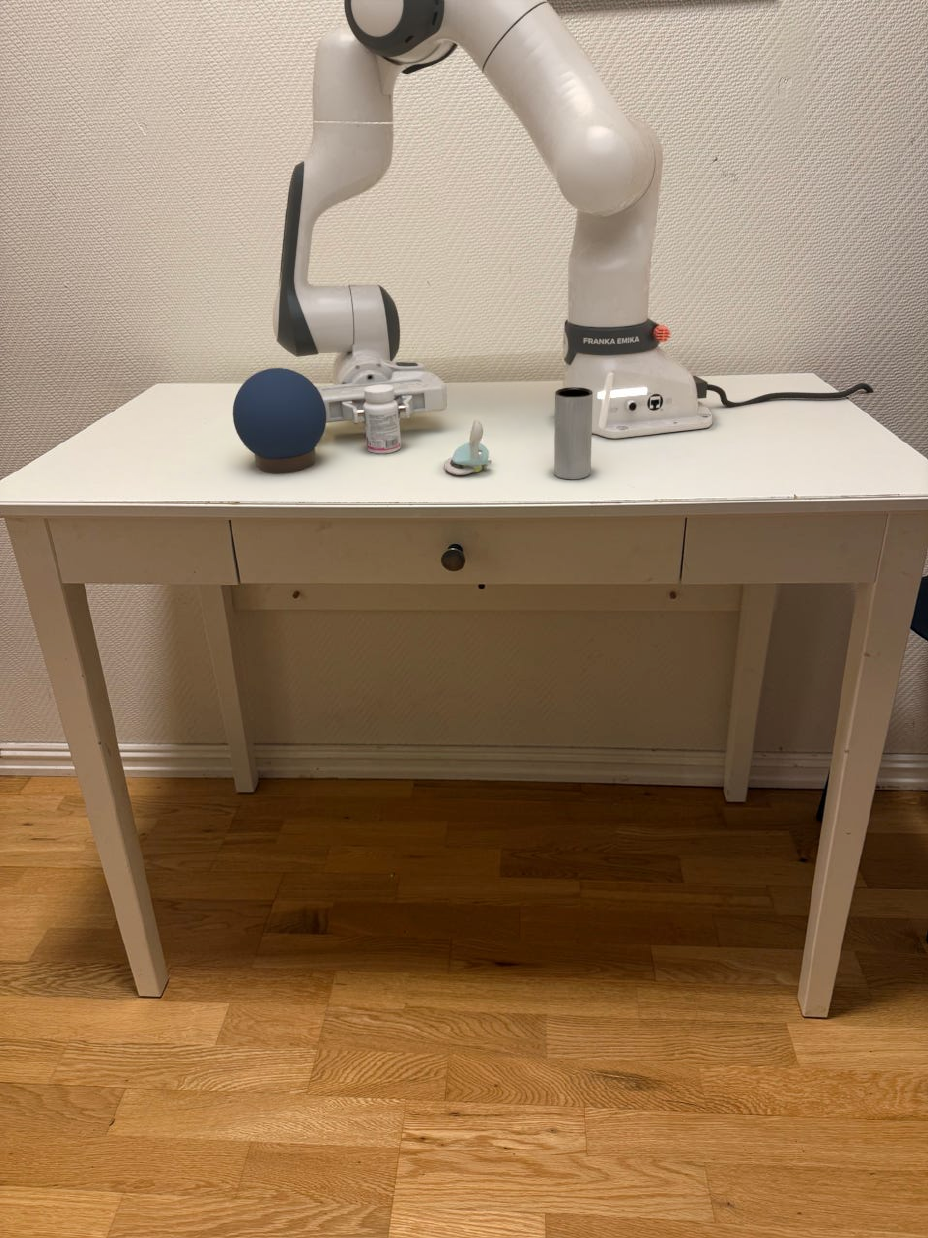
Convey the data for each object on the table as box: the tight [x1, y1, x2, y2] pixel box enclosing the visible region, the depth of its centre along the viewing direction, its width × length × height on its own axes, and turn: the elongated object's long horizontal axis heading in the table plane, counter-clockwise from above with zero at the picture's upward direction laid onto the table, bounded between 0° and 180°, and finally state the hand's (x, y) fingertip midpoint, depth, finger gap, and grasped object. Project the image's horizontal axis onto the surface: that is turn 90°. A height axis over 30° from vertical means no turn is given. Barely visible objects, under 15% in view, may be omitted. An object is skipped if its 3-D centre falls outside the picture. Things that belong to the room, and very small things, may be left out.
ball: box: [232, 367, 327, 459], centre depth 119 cm, size 12×12×12 cm
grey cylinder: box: [553, 387, 593, 480], centre depth 112 cm, size 4×4×10 cm
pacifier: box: [443, 419, 492, 476], centre depth 116 cm, size 7×6×6 cm
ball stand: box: [254, 447, 317, 474], centre depth 122 cm, size 8×8×2 cm
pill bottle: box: [363, 384, 402, 454], centre depth 124 cm, size 5×5×8 cm
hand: (382, 414), depth 123 cm, fingers closed on pill bottle, 5 cm apart
